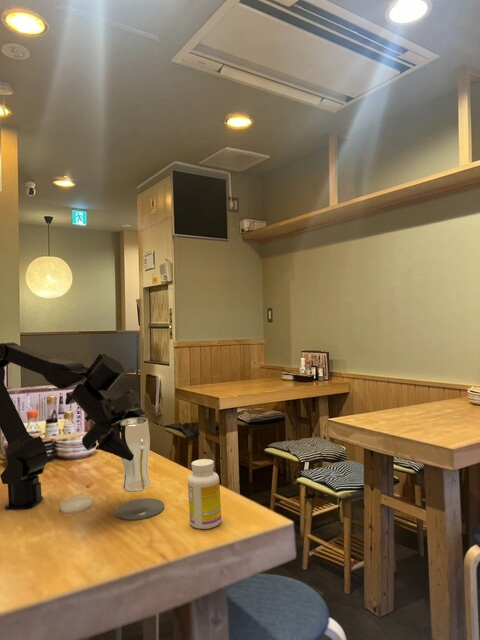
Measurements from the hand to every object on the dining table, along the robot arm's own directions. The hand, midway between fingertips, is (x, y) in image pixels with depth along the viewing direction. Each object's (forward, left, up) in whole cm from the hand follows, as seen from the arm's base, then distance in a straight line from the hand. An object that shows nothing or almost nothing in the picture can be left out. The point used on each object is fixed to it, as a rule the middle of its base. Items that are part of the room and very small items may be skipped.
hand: (139, 454), depth 106 cm
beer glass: (-1, +1, -8) cm, 8 cm away
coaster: (-1, +2, -13) cm, 13 cm away
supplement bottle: (+15, -6, -13) cm, 21 cm away
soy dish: (-17, +5, -13) cm, 22 cm away
